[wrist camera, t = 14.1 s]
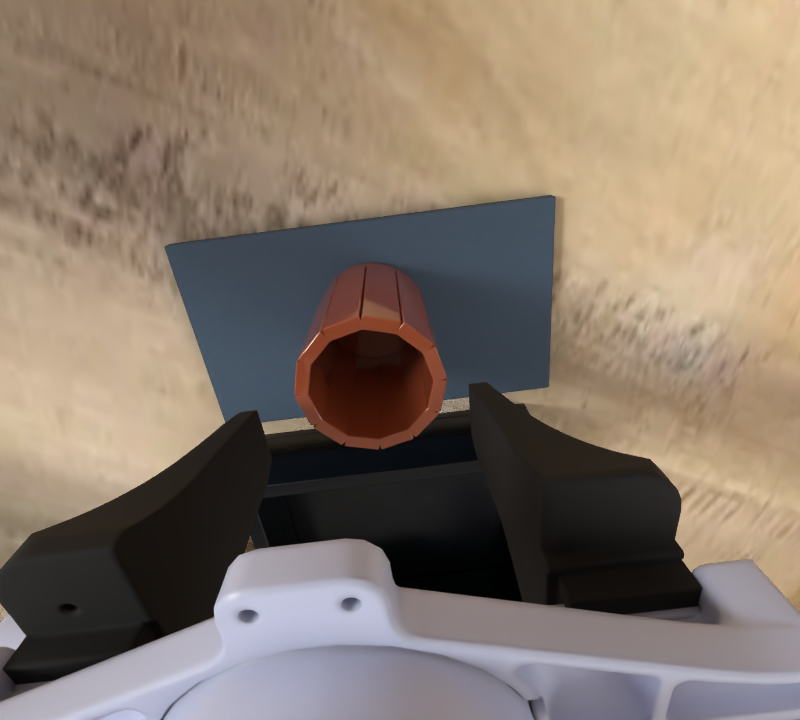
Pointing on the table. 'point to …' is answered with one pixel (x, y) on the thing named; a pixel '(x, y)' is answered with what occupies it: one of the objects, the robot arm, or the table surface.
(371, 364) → the tumbler
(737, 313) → the table surface
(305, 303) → the mat
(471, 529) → the tub
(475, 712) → the robot arm
